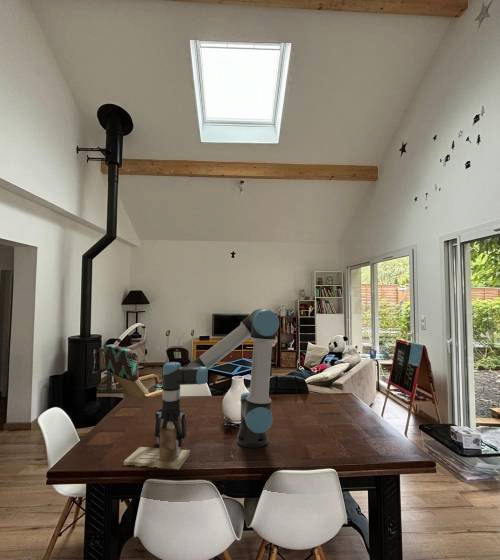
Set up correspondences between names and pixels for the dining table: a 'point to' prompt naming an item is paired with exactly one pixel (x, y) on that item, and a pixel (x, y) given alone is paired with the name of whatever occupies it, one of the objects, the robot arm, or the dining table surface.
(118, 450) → the dining table surface
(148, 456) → the board
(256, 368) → the robot arm
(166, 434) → the block
